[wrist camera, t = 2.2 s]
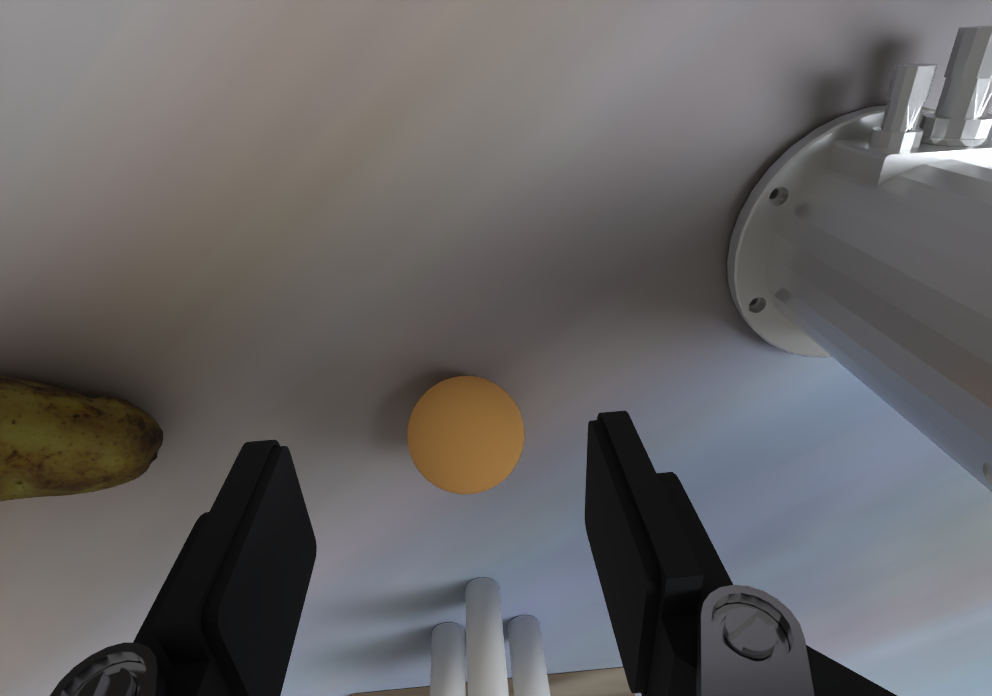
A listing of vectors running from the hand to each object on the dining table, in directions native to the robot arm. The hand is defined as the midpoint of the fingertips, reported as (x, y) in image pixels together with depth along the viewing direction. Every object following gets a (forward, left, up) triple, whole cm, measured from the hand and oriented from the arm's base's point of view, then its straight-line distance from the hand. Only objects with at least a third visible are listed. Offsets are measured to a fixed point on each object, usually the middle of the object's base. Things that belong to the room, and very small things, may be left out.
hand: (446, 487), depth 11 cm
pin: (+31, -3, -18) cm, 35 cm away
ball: (+10, 0, -15) cm, 18 cm away
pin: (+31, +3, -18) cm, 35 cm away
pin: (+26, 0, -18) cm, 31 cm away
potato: (+8, -22, -18) cm, 30 cm away
